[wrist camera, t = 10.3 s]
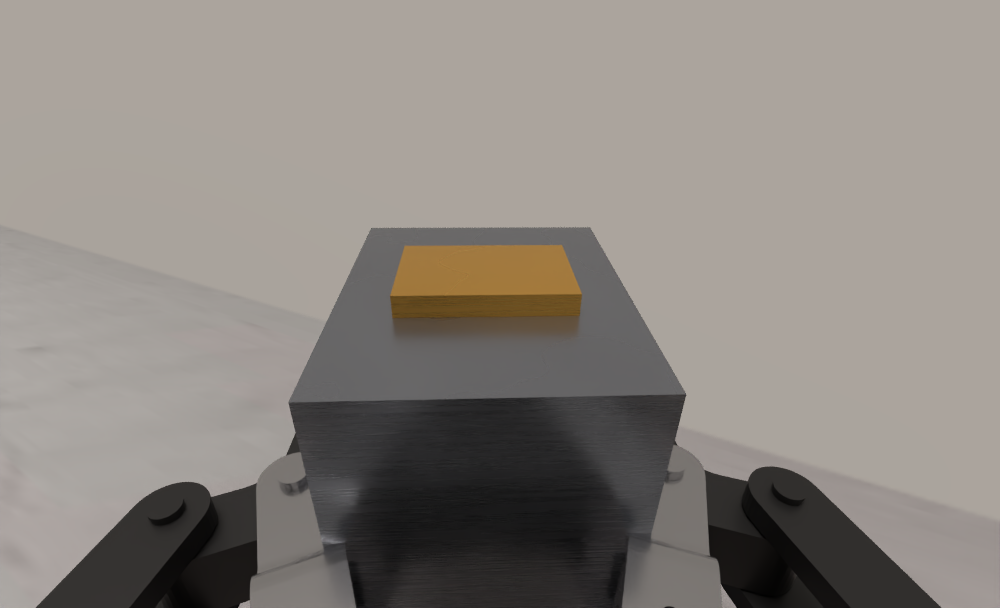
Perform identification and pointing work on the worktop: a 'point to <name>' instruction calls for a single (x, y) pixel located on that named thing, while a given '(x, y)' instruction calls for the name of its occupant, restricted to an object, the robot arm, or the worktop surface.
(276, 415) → the worktop surface
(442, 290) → the metal block with pad
